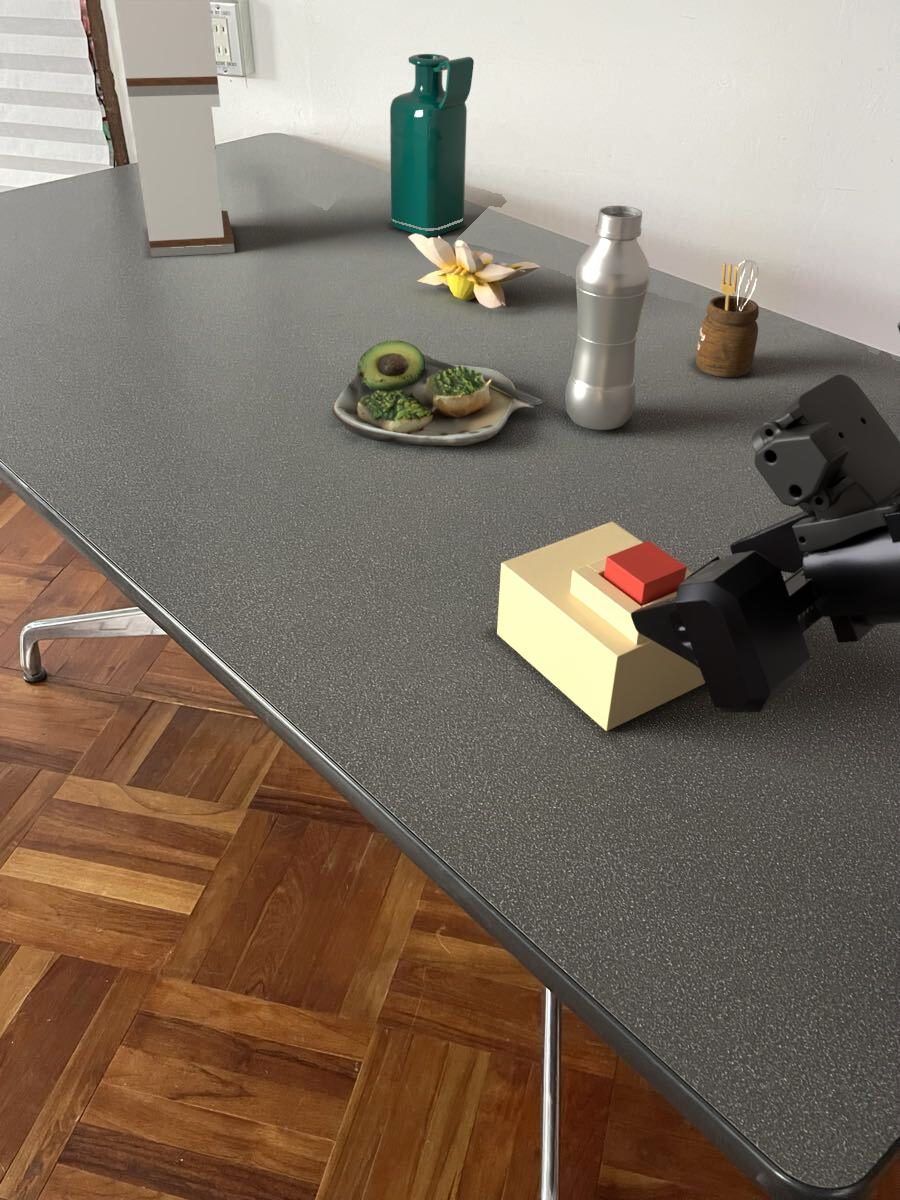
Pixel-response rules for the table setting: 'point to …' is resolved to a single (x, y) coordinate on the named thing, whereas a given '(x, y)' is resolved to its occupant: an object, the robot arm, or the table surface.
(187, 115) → the striped white pillar
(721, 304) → the utensil holder
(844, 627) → the robot arm
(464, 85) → the pitcher
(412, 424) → the salad plate
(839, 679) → the table surface
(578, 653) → the switch block
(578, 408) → the silver metal bottle
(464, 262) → the decorative flower
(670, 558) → the button
